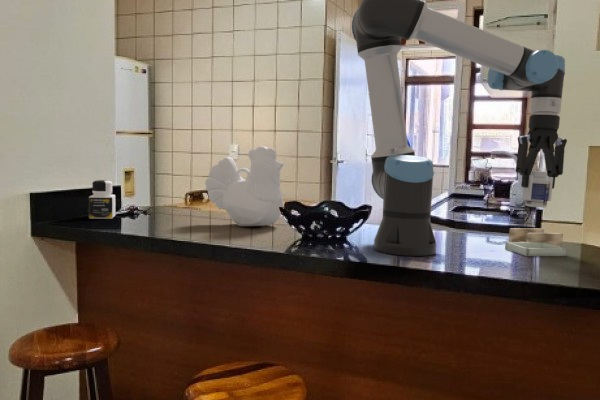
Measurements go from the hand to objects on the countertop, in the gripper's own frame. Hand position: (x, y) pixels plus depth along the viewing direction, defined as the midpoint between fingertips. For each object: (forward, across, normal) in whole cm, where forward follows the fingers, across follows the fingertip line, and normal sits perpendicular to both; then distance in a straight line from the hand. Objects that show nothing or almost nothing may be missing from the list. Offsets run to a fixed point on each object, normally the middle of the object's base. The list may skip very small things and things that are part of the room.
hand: (536, 199), depth 144 cm
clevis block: (+13, +1, 0) cm, 13 cm away
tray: (+13, -6, -10) cm, 17 cm away
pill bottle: (+2, 0, 0) cm, 2 cm away
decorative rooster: (+14, -76, +35) cm, 85 cm away
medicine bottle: (+15, -121, +50) cm, 132 cm away
